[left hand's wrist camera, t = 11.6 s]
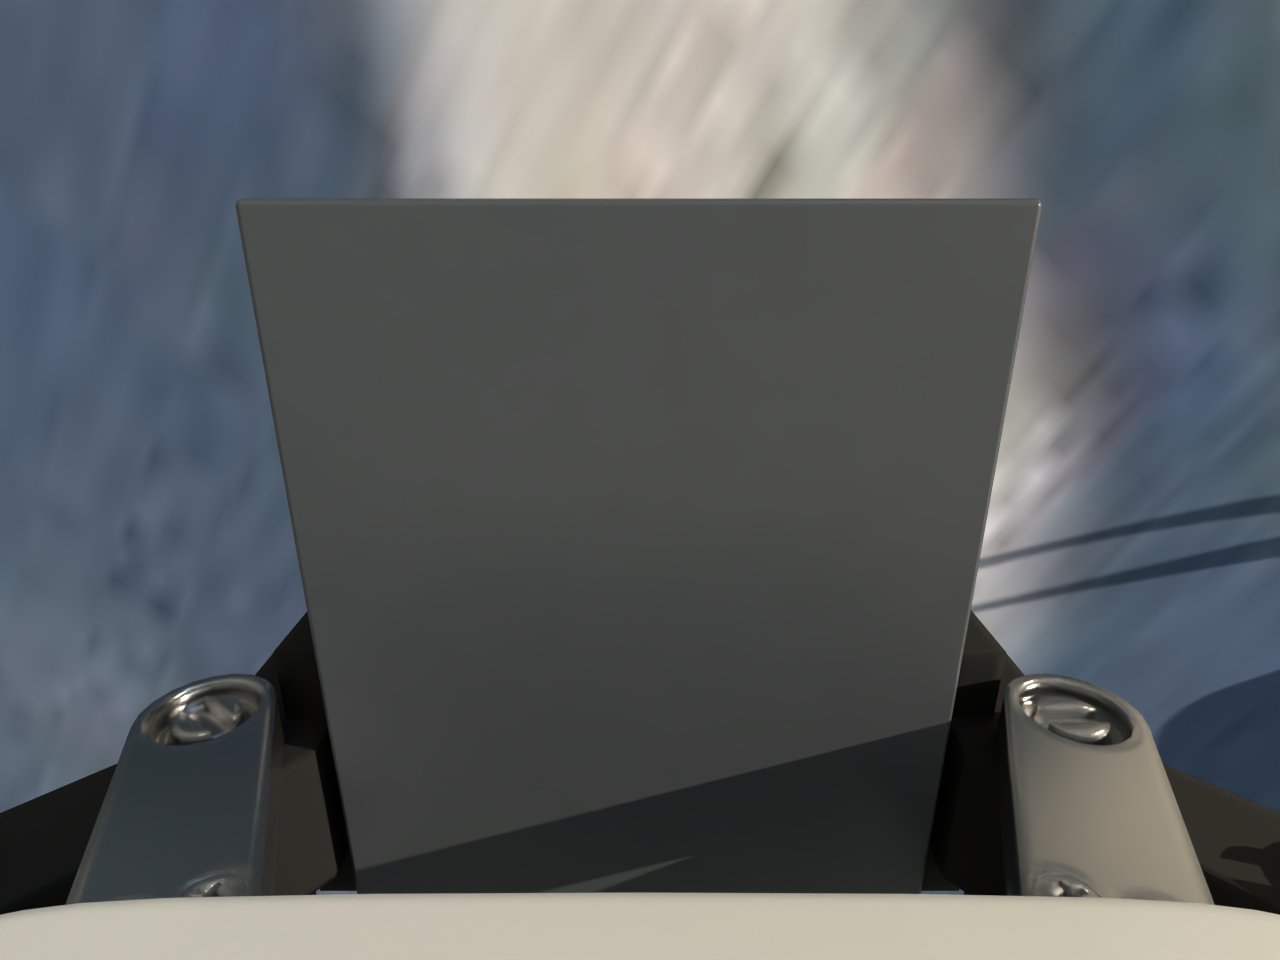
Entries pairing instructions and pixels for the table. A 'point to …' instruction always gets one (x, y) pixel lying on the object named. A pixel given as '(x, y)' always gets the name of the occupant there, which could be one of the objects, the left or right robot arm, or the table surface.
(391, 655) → the post
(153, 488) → the table surface
